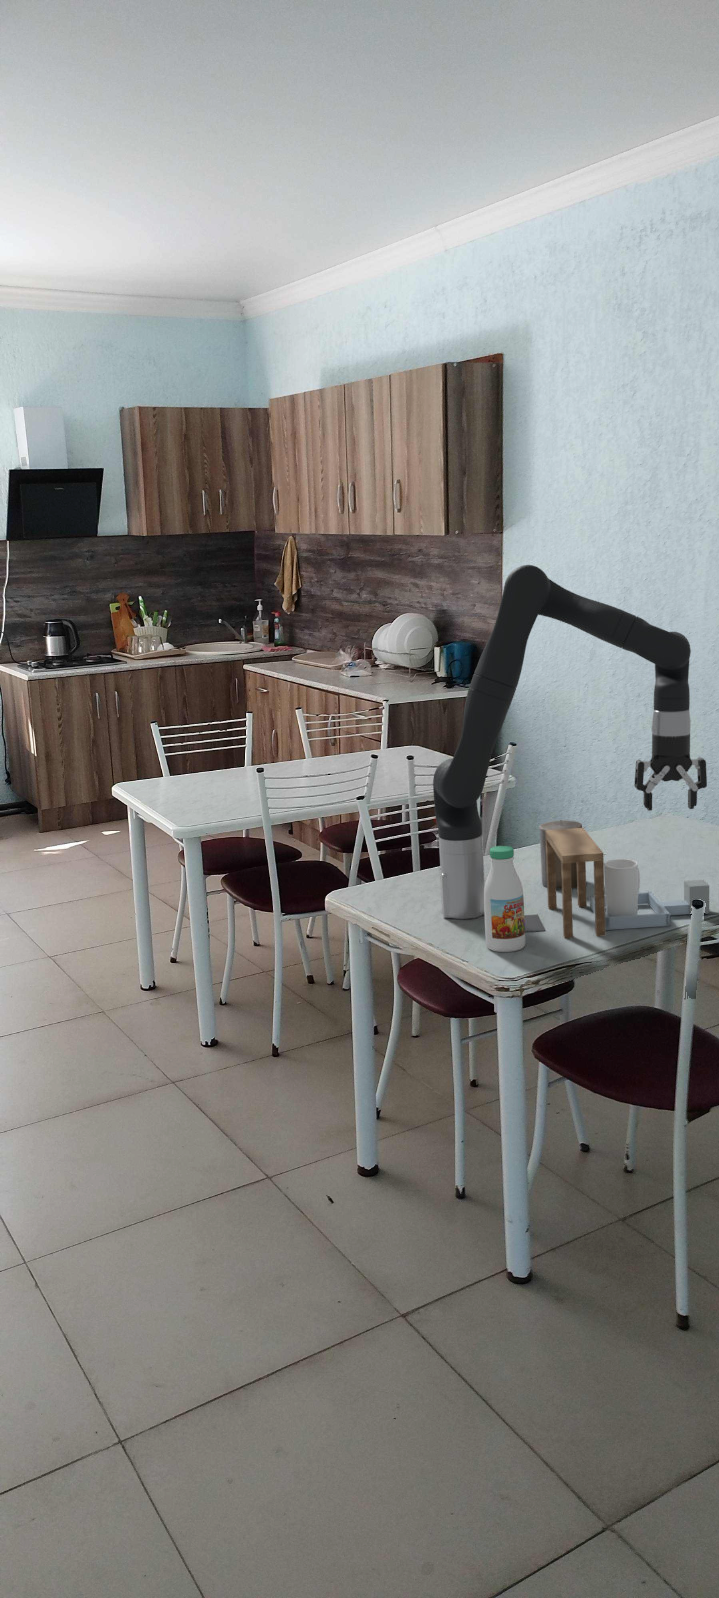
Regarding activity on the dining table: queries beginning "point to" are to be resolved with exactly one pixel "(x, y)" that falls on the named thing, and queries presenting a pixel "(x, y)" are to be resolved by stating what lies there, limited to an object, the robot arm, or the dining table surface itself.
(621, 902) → the mug
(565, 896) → the tunnel
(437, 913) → the dining table surface
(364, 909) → the dining table surface
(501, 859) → the milk bottle
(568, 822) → the pillar candle
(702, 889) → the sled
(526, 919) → the gray flat slab
